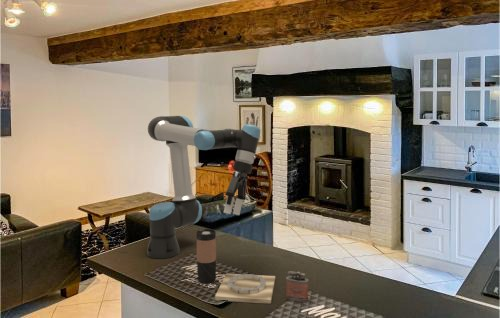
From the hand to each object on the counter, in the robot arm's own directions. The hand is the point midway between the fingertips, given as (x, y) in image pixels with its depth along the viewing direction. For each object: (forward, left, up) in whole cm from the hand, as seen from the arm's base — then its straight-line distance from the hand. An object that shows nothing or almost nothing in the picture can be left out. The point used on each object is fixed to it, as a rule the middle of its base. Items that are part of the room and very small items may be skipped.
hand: (231, 214), depth 160 cm
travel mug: (+5, -9, -26) cm, 28 cm away
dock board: (+11, +8, -26) cm, 29 cm away
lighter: (+16, +27, -26) cm, 41 cm away
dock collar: (+11, +8, -25) cm, 28 cm away
